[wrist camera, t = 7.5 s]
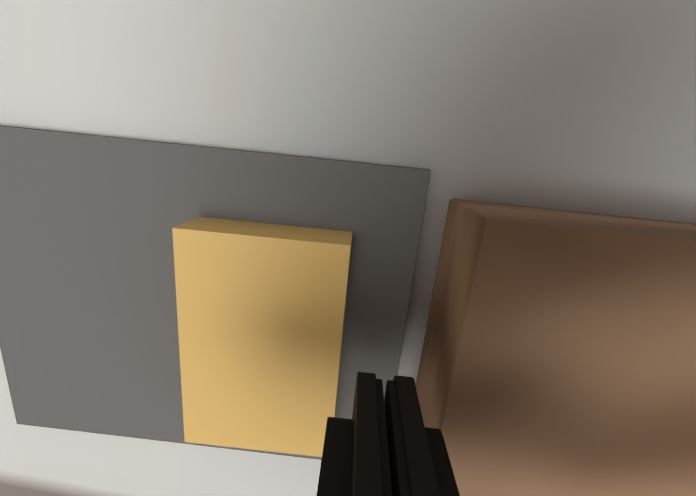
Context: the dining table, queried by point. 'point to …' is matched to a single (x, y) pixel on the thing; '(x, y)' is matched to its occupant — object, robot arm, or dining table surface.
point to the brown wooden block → (563, 353)
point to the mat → (171, 267)
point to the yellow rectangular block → (259, 332)
